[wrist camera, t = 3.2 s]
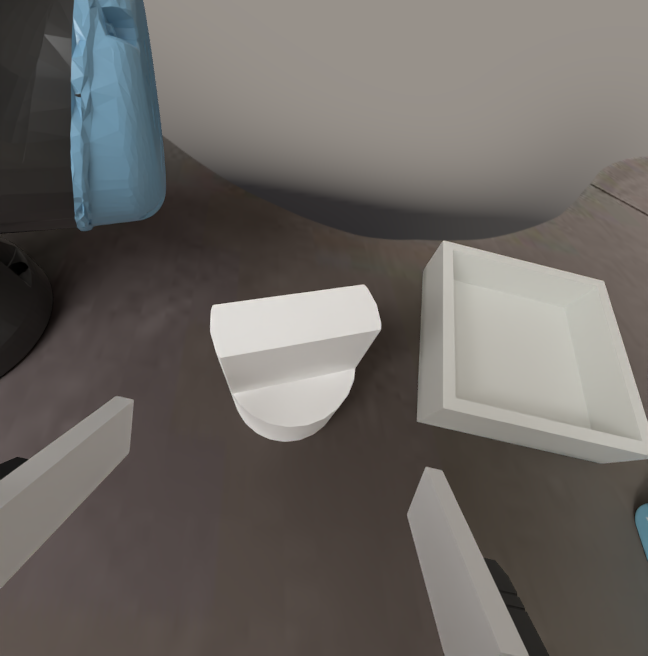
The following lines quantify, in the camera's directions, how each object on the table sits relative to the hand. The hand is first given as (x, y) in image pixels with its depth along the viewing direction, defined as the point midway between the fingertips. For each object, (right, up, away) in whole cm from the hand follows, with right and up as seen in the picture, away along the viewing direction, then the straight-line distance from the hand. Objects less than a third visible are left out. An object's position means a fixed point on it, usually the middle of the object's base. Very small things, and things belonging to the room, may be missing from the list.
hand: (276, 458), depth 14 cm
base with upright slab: (-1, +1, +13) cm, 13 cm away
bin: (+20, +3, +18) cm, 27 cm away
